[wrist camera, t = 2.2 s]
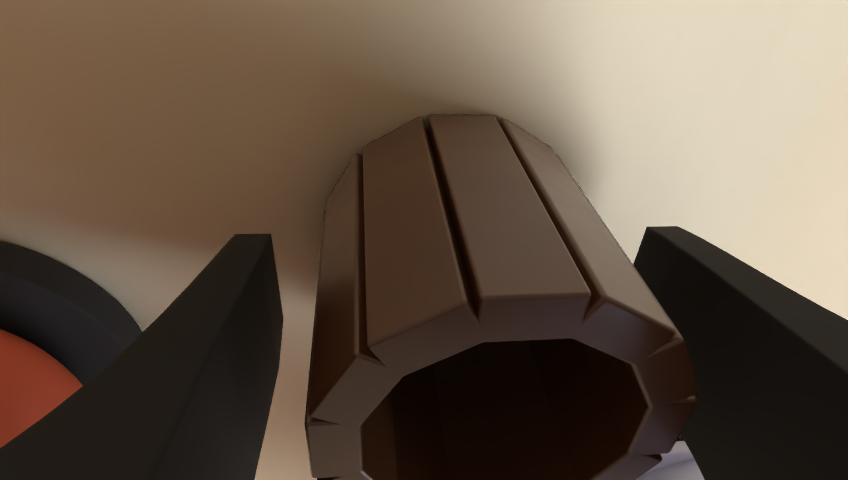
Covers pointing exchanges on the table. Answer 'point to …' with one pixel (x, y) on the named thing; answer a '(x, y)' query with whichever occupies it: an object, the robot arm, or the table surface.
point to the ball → (51, 336)
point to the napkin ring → (483, 320)
